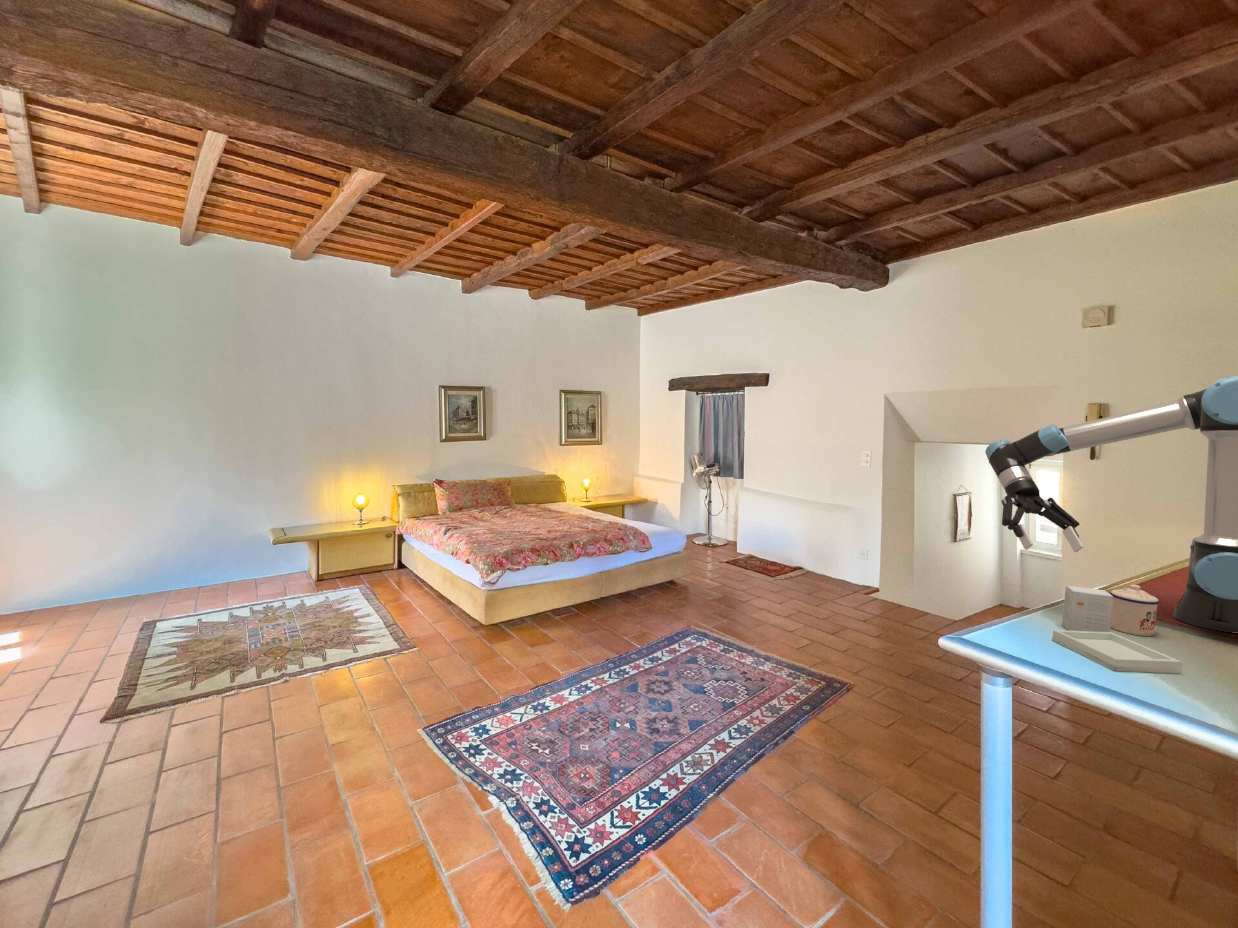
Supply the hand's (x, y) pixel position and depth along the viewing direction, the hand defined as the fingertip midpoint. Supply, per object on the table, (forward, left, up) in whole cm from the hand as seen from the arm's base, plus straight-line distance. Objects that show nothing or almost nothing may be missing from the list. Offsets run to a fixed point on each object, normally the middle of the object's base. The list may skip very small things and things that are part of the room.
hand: (1054, 548), depth 145 cm
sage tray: (+7, +26, -18) cm, 33 cm away
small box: (0, +11, -19) cm, 22 cm away
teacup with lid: (-15, +8, -19) cm, 26 cm away
